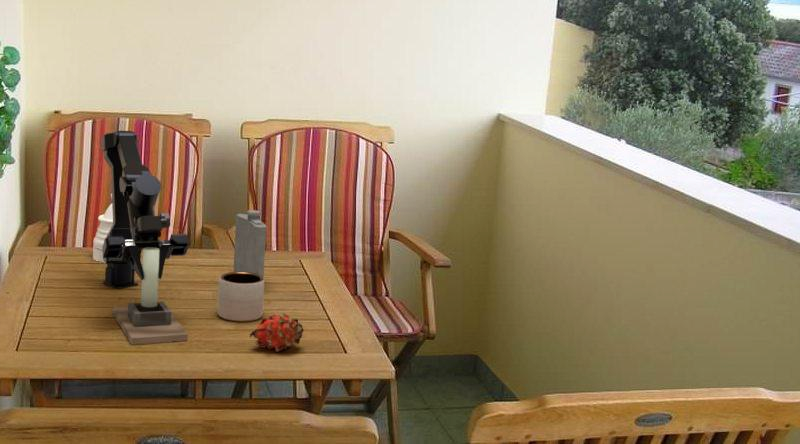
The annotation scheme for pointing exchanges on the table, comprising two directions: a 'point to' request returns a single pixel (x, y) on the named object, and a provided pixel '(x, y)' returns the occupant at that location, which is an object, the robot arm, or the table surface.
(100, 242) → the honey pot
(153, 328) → the keeper
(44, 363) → the table surface
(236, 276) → the planter
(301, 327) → the dragon fruit
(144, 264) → the pale green peg
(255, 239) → the hip flask
